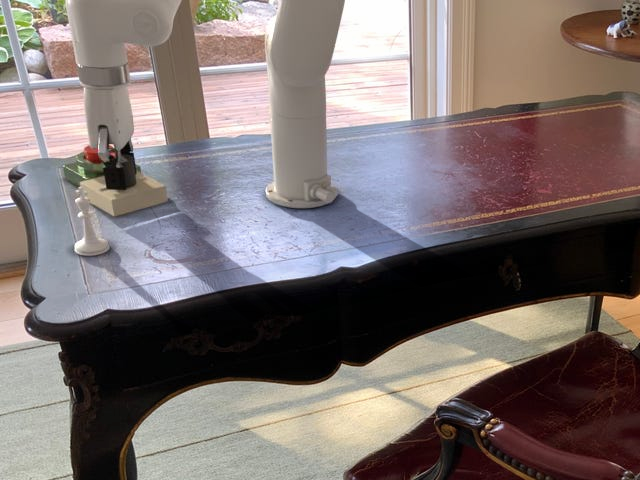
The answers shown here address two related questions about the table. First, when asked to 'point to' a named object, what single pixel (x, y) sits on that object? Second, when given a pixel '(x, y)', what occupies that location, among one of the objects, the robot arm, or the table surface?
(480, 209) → the table surface
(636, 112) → the table surface
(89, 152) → the power button
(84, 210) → the chess piece
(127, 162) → the knob
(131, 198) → the panel
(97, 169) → the switch box
